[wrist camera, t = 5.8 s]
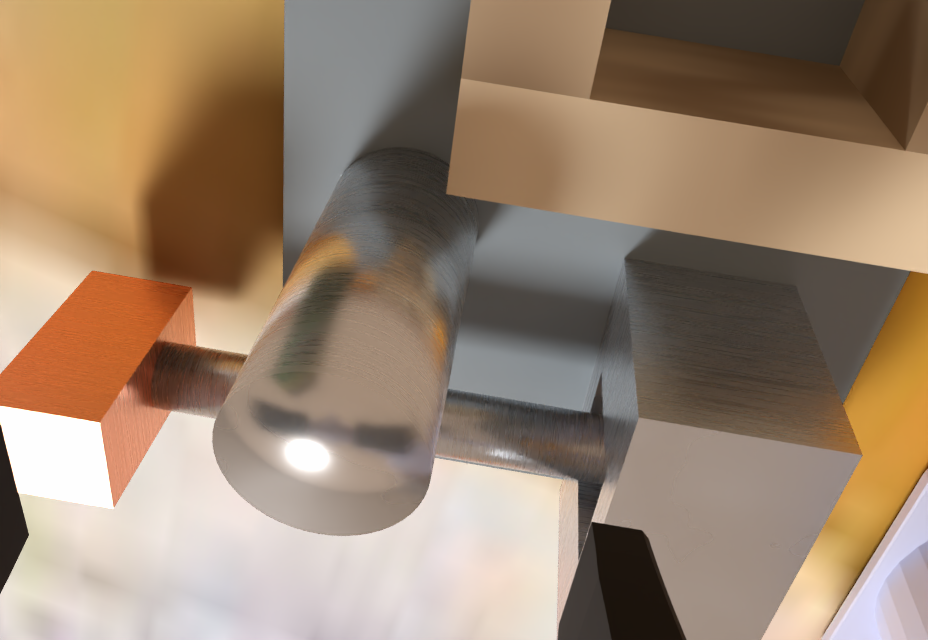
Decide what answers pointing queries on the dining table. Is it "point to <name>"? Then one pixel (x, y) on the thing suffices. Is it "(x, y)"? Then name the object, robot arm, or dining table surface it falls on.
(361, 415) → the peg
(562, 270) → the board
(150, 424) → the orange grey long bar
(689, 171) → the socket
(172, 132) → the dining table surface
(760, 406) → the block
